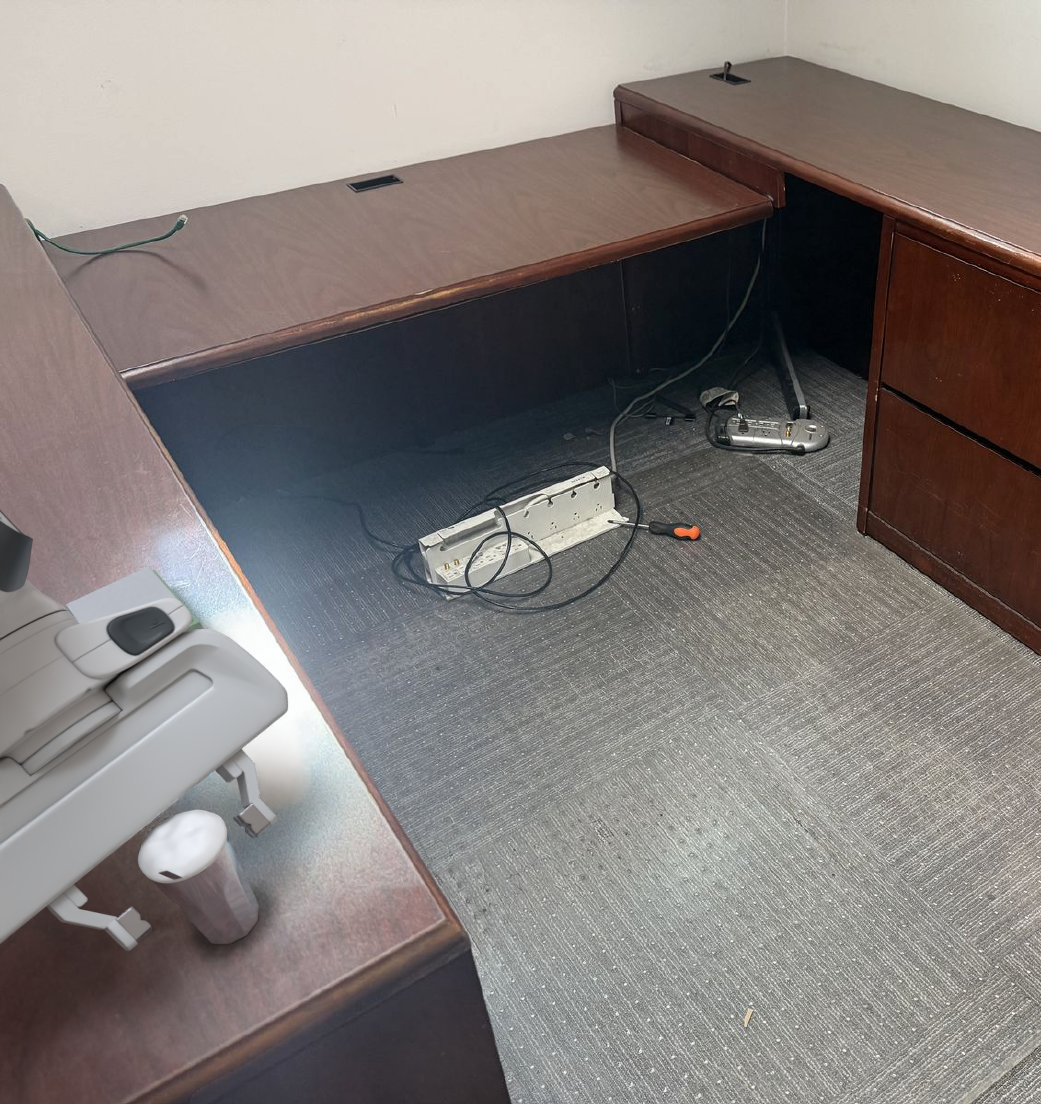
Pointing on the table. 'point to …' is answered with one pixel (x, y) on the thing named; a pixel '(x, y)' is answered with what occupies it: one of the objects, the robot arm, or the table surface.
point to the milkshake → (201, 874)
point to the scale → (125, 597)
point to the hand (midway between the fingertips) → (206, 882)
